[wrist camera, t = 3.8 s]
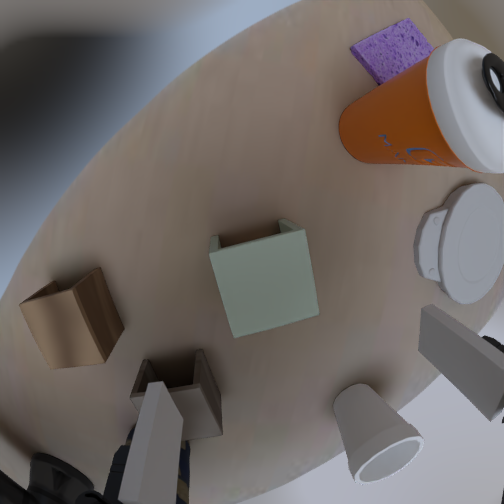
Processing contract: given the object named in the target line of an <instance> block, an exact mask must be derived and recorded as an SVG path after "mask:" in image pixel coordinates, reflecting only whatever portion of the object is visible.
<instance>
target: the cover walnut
mask: <svg viewBox="0 0 504 504" xmlns="http://www.w3.org/2000/svg"><path fill="white" fill-rule="evenodd" d="M19 306H20V309H21V311H22V313H23V316H24V318H25V320H26V322H27V324H28V327H29V329H30V331H31V333H32V335H33V337H34V339H35V341H36V343H37V345H38V347H39V349H40V351H41V353H42V355H43V356H44V358H45V360H46V362H47V364H48V365H49V367H50V369H59V368H69V367H78V366H87V365H95V364H102V363H105V362H106V361H107V359H108V357H109V355H110V353H111V352H112V350H113V348H114V346H115V345H116V343H117V341H118V339H119V338H120V336H121V334H122V332H123V331H124V327H123V324H122V322H121V320H120V317H119V315H118V313H117V310H116V308H115V305H114V303H113V300H112V298H111V295H110V292H109V290H108V287H107V284H106V282H105V279H104V276H103V273H102V271H101V268H96V269H94V270H93V271H92V272H90V273H89V274H88V275H86V276H85V277H84V278H83V279H81V280H80V281H79V282H77V283H76V284H75V285H74V286H72V287H71V288H70V289H67V290H64V291H60V292H59V290H58V288H57V285H56V282H55V281H53V282H50V283H49V284H47V285H46V286H44V287H43V288H42V289H40V290H39V291H37V292H36V293H34V294H33V295H32V296H30V297H29V298H27V299H26V300H25V301H23V302H22V303H20V304H19Z"/></svg>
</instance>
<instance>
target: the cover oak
mask: <svg viewBox="0 0 504 504" xmlns="http://www.w3.org/2000/svg"><path fill="white" fill-rule="evenodd" d="M153 382H159V380H158V378H157V376H156V374H155V372H154V370H153V368H152V366H151V364H150V362H149V360H143V362H142V364H141V367H140V370H139V372H138V375H137V378H136V381H135V384H134V386H133V389H132V392H131V395H130V399H131V401H132V403H133V404H134V406H135V408H136V409H137V411H138V412H139V414H140V410H141V407H142V403H143V400H144V396H145V393H146V390H147V386H148V383H153ZM167 390H168V392H169V394H170V396H171V398H172V400H173V401H174V403H175V405H176V407H177V409H178V411H179V412H180V414H181V416H182V418H183V427H182V436H181V441H186V440H194V439H201V438H208V437H215V436H221V435H223V430H222V411H221V395H220V392H219V390H218V387H217V385H216V383H215V380H214V378H213V375H212V373H211V370H210V368H209V365H208V363H207V360H206V358H205V355H204V353H203V350H202V349H199V350H196V358H195V368H194V378H193V385H187V386H181V387H175V388H169V389H167Z"/></svg>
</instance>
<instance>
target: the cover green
mask: <svg viewBox="0 0 504 504" xmlns="http://www.w3.org/2000/svg"><path fill="white" fill-rule="evenodd" d="M278 223H279V227H280V232H281V233H280V234H276V235H272V236H268V237H264V238H260V239H256V240H252V241H248V242H244V243H240V244H236V245H232V246H229V247H225V248H221V245H220V241H219V237H218V235H216V236H213V237H211V241H210V248H209V257H210V260H211V264H212V267H213V271H214V274H215V278H216V281H217V285H218V288H219V291H220V295H221V298H222V302H223V305H224V308H225V311H226V315H227V318H228V321H229V325H230V328H231V331H232V334H233V337H234V338H237V337H241V336H245V335H249V334H253V333H257V332H261V331H265V330H268V329H272V328H276V327H279V326H283V325H287V324H290V323H294V322H297V321H300V320H304V319H307V318H310V317H314V316H317V315H320V314H319V307H318V301H317V295H316V289H315V282H314V277H313V271H312V265H311V259H310V254H309V248H308V243H307V238H306V233H305V229H303V228H302V227H300V226H298V225H296V224H294V223H292V222H290V221H289V220H287V219H285V218H284V219H280V220H278Z"/></svg>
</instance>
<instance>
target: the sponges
mask: <svg viewBox="0 0 504 504" xmlns="http://www.w3.org/2000/svg"><path fill="white" fill-rule="evenodd" d="M426 40H427V39H426V38H425V37H424V36H423V34H422V33H420V31H419V30H418V28H416V25H415V24H414V23H413V22H412V21H411V20H410V18H407V19H405V20H403V21H401V22H399V23H397V24H395V25H392V26H390V27H388V28H386V29H384V30H382V31H380V32H378V33H376V34H374V35H372V36H370V37H368V38H366V39H364V40H362V41H360V42H359V43H356V44H355V45H353V46H352V47H351V48H350V49H351V52H352V54H353V55H354V56H355V57H356V59H358V60H359V62H360V63H361V64H362V65H363V67H364V68H365V69H366V70H367V71H368V72H369V73H370V74H371V75H372V76H373V78H374V79H375V81H376V82H377V83H378V84H379V86H380V85H381V84H383V83H384V82H386V81H388V80H389V79H391V78H393V77H394V76H396V75H397V74H399V73H401V72H402V71H404V70H406V69H407V68H409V67H411V66H412V65H414V64H416V63H417V62H419V61H421V60H423V59H424V58H426V57H428V56H429V55H430V53H431V52H432V51H433V50H434V48H433V47H432V46H431V44H429V43H428V42H427V41H426Z"/></svg>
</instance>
